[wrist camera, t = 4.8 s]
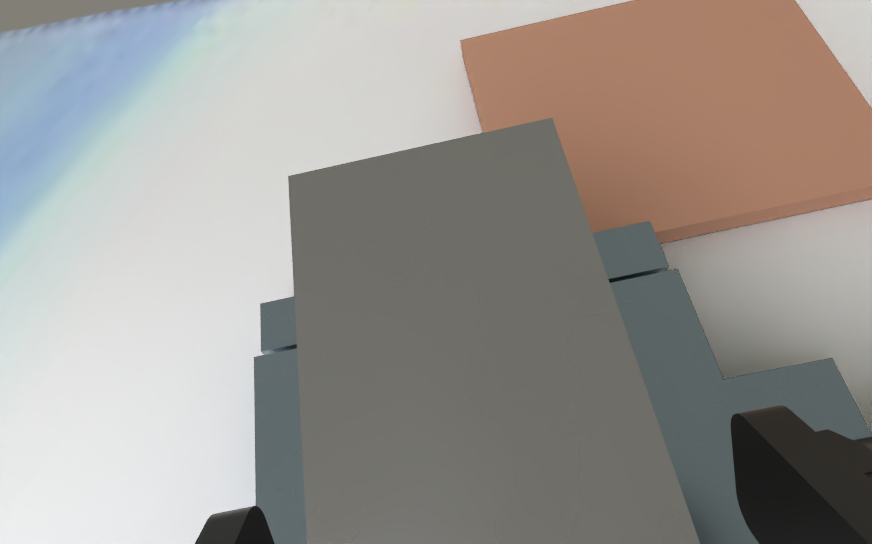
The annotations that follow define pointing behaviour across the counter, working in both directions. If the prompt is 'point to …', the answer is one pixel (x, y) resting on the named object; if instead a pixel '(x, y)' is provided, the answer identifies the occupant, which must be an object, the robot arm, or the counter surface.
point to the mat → (684, 111)
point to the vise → (661, 371)
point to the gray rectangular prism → (469, 356)
